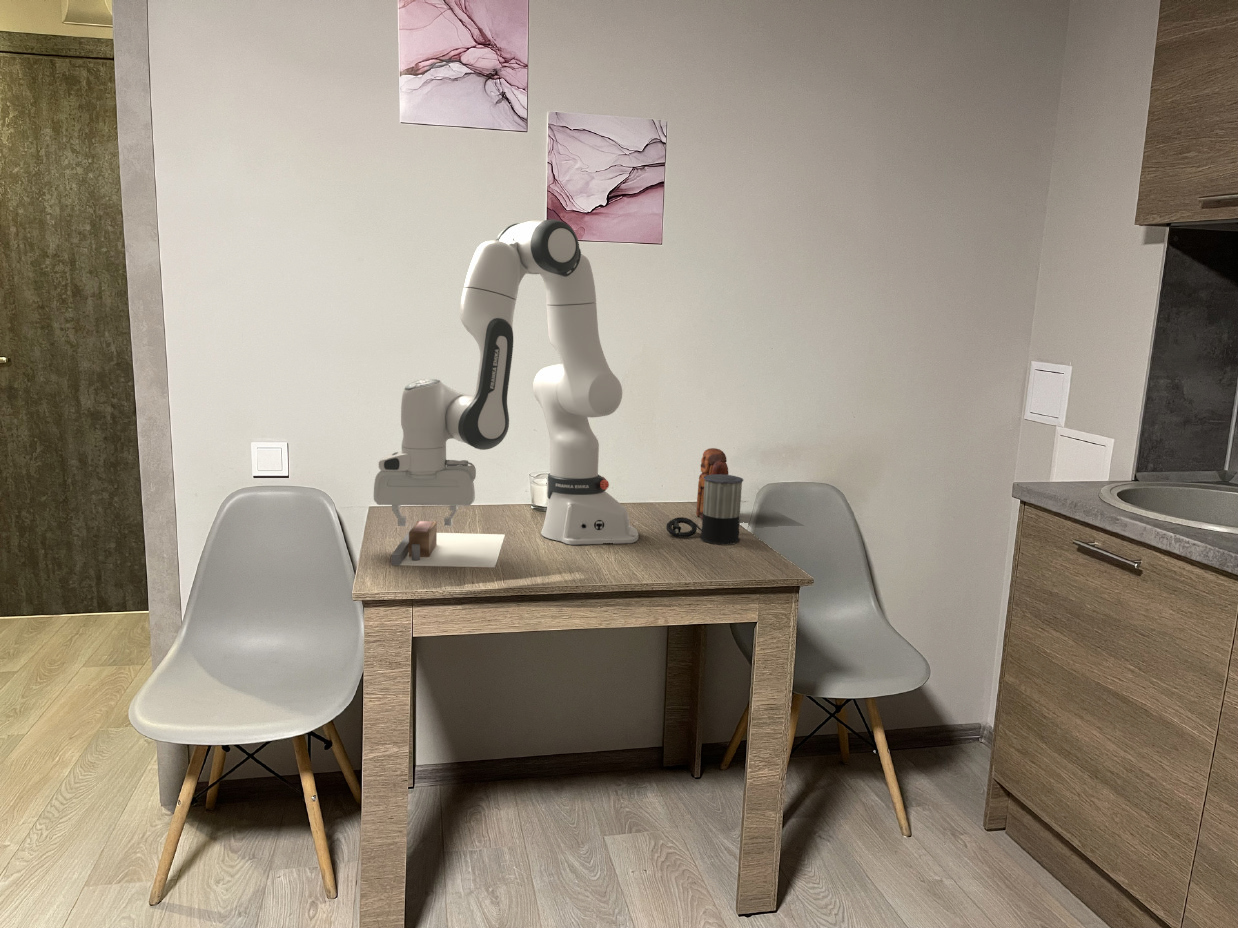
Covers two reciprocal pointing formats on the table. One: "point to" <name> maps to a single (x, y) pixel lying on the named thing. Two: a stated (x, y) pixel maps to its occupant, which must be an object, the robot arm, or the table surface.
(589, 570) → the table surface
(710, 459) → the wooden figurine
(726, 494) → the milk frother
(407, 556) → the board
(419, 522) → the wooden block
